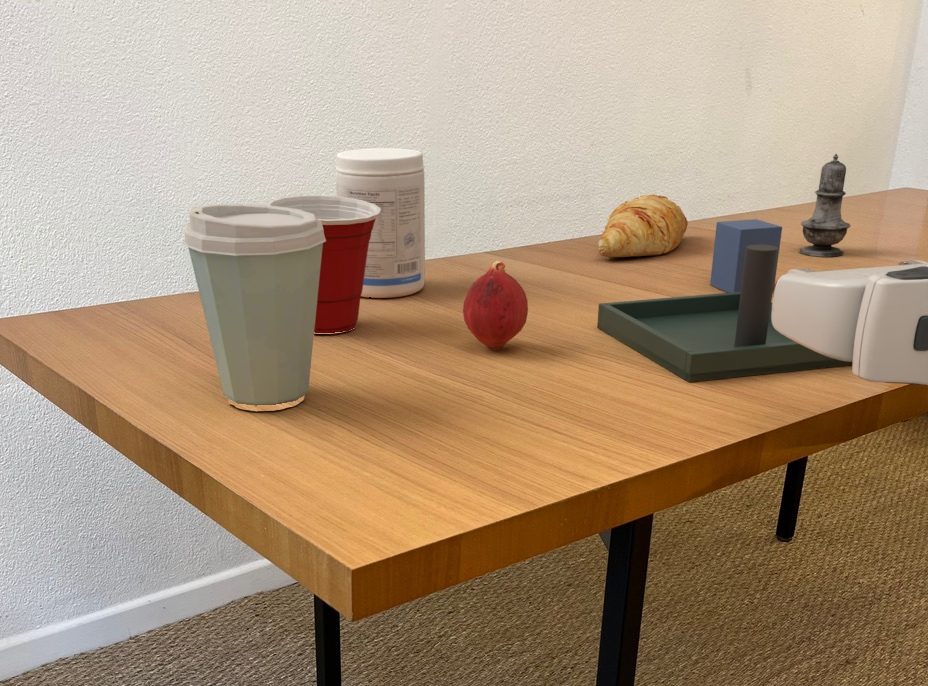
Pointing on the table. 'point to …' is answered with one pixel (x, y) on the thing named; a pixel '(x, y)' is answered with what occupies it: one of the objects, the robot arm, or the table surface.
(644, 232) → the croissant
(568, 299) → the table surface
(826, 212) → the salt shaker
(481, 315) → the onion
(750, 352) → the tray
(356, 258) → the plastic cup
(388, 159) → the supplement tub
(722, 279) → the block
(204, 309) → the disposable coffee cup
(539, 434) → the table surface
